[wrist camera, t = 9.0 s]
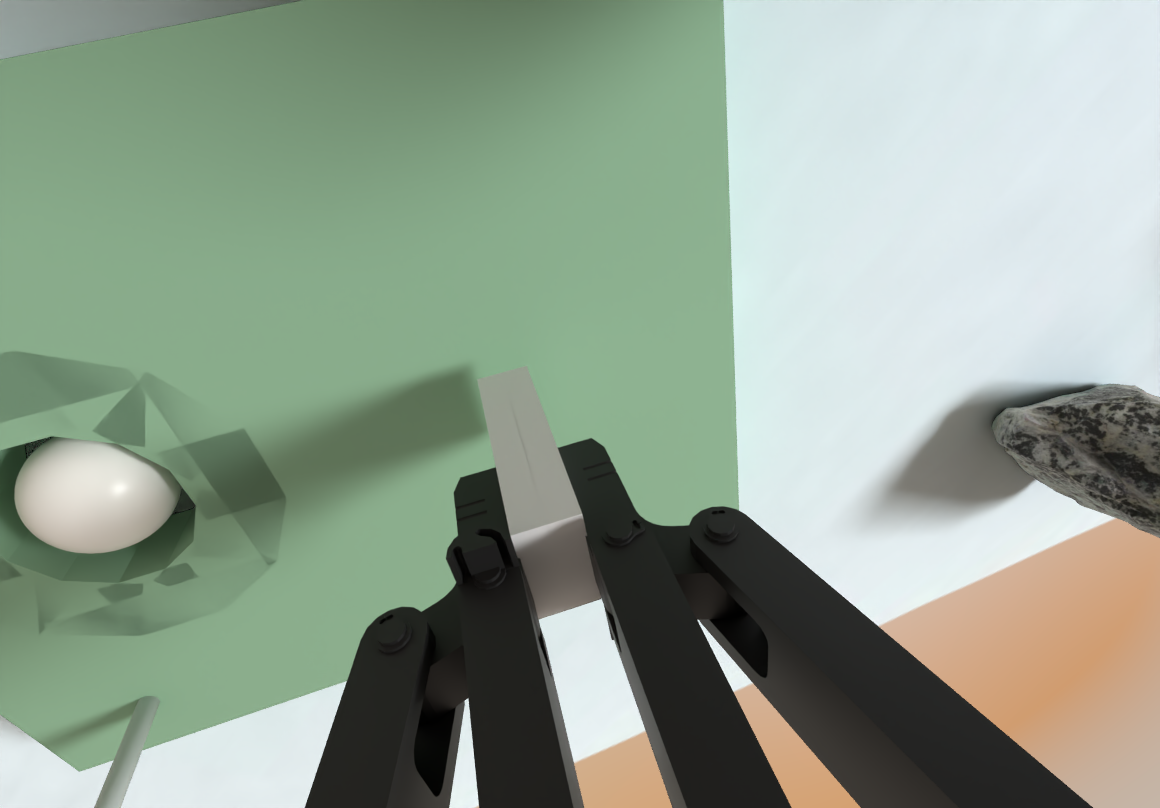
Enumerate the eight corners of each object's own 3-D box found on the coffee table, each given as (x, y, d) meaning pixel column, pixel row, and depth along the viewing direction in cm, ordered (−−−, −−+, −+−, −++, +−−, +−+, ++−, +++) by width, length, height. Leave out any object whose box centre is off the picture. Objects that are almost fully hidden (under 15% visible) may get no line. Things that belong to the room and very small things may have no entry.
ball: (181, 397, 19) (102, 439, 20) (46, 414, 16) (-43, 463, 17) (228, 507, 19) (146, 542, 21) (105, 551, 16) (12, 591, 17)
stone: (1181, 619, 25) (1415, 489, 23) (1028, 426, 26) (1243, 292, 24) (1041, 563, 34) (1202, 468, 33) (934, 423, 35) (1085, 326, 34)
